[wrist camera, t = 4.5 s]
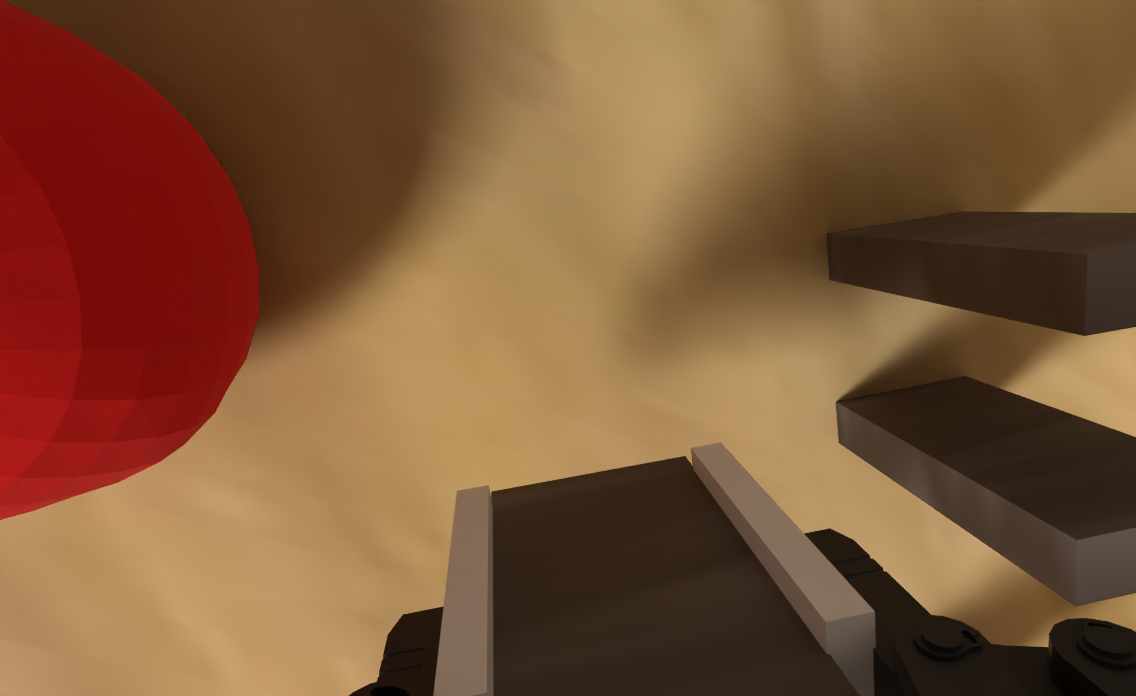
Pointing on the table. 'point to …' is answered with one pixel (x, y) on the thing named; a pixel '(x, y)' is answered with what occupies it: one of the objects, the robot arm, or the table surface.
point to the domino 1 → (640, 595)
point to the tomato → (107, 270)
